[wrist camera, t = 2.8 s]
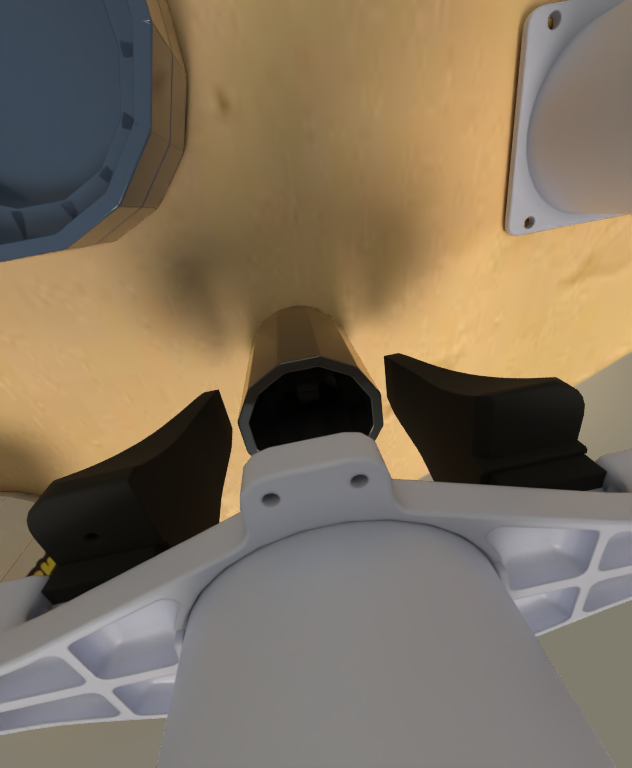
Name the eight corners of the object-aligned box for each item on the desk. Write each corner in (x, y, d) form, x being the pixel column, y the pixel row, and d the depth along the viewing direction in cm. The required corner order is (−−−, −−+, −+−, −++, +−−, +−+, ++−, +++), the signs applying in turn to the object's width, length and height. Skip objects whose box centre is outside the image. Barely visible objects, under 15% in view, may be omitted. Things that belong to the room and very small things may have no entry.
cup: (340, 297, 17) (376, 344, 11) (351, 384, 19) (387, 463, 13) (241, 316, 17) (220, 375, 11) (265, 402, 19) (260, 490, 13)
